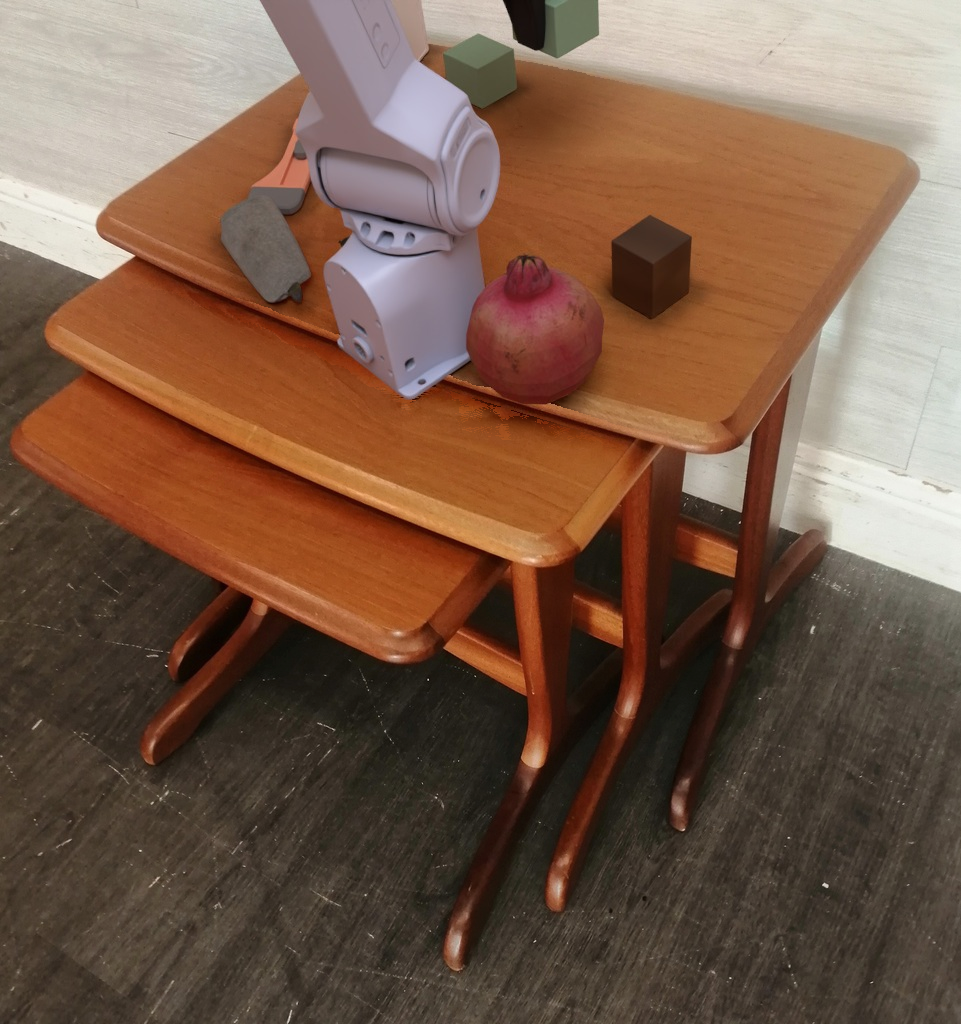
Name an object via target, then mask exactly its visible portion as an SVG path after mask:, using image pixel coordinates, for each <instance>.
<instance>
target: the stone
mask: <svg viewBox="0 0 961 1024" xmlns="http://www.w3.org/2000/svg"><path fill="white" fill-rule="evenodd" d="M219 224H220V227H221V228H220V229H221V233H220V235H221V236H220V242H221V243H222V245H223V247H224V248H225V250H226V251H227V253H228V254H229V255H230V257H231V258H232V260H233V261H234V263H235V264H236V265H237V267H238V268H239V270H240V271H241V272H242V274H243V275H244V277H245V278H246V279H247V281H249V283H250V284H251V285H252V286H253V287H254V289H255V290H256V291H257V293H258V294H259V295H260V296H261V297H262V298H263V299H264V300H265V301H266V302H268V303H270V304H271V303H272V304H275V303H280V302H282V301H283V300H286V299H287V298H288V297H290V296H289V295H288V294H289V293H288V292H287V291H288V289H289V288H290V287H291V285H292V284H294V283H295V282H298V283H299V285H300V286H301V285H302V284H303V283H305V282H306V281H307V280H308V279H310V277H311V276H312V274H311V269H310V267H309V264H308V262H307V259H306V257H305V254H304V252H303V251H302V249H301V246H300V244H299V242H298V240H297V239H296V236H295V235H294V233H293V231H292V229H291V228H290V225H289V223H288V222H287V220H286V218H285V216H284V214H282V213H281V211H280V210H279V208H278V206H277V204H276V203H275V201H274V200H273V199H271V198H270V197H268V196H255V197H251V198H249V199H247V198H246V199H243V200H242V201H240V202H237V203H236V204H234V205H232V206H231V207H229V208H228V209H227V210H226V211H225V212H223V213H222V215H221V217H220V219H219Z"/></svg>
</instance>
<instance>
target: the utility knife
mask: <svg viewBox="0 0 961 1024" xmlns="http://www.w3.org/2000/svg"><path fill="white" fill-rule="evenodd" d="M298 118H299V117H297V118H296V119H295V121H294V124H293V126H292V128H291V132H292V135H291V137H290V140H289V142H288V144H287V147H286V149H285V152H284V154H283V157H282V158H281V159H280V161H279V163H278V164H277V165H276V166H275V167H274V168H273V170H271V171H270V172H269V173H267V174H266V176H264V177H263V178H261V179H260V180H258V181H256V182H255V183H254V184H252V185H251V187H250V191H249V193H248V195H247V197H246V199H249V198H251V197H255V196H268V197H270V198H271V199H273V200H274V201H275V203H276V204H277V206H278V208H279V210H280V211H281V213H282V215H286V216H287V215H293V214H295V213H298V211H299V210H300V209H301V207H302V206H303V204H304V203H303V202H304V200H305V196H306V194H307V192H308V189H309V186H310V184H311V182H312V181H311V177H310V172H309V166H308V159H307V156H306V153H305V150H304V148H303V146H302V144H301V142H300V141H299V139H298V137H297V136H296V134H295V129H296V125H297V121H298Z"/></svg>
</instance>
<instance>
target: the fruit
mask: <svg viewBox="0 0 961 1024" xmlns="http://www.w3.org/2000/svg"><path fill="white" fill-rule="evenodd" d="M505 269H506V270H505V271H506V273H504V274H502V275H500V276H499V277H497V278H495V279H494V280H492V281H490V282H489V283H487V284H486V285H485V288H484V290H483V291H482V292H481V293H480V295H479V296H478V297H477V299H476V301H475V303H474V305H473V307H472V312H471V316H470V320H469V325H468V329H467V334H466V350H467V352H468V354H469V357H470V359H471V360H470V361H471V365H472V366H473V368H474V370H475V372H476V374H477V375H478V377H479V379H480V380H482V381H483V382H484V383H485V384H486V385H487V386H489V388H491V389H492V390H493V391H495V393H497V394H498V395H499V396H500V397H502V398H503V399H506V400H509V401H512V402H515V403H519V404H521V405H548V404H550V403H554V402H555V401H557V400H560V399H563V398H564V397H567V396H568V395H571V394H572V393H574V391H576V390H577V389H578V388H579V387H580V386H581V385H582V384H583V383H584V382H586V381H587V379H588V377H589V376H590V374H591V373H592V370H593V369H594V368H595V365H596V363H597V362H598V359H599V358H600V356H601V354H602V348H603V347H602V346H603V333H604V325H605V318H604V314H603V310H602V307H601V304H600V303H599V302H598V300H597V299H596V297H595V296H594V294H593V293H592V292H591V291H590V290H589V289H588V288H587V287H586V286H585V285H584V283H582V282H581V281H580V280H579V279H578V278H577V277H576V276H574V275H572V274H570V273H568V272H565V271H564V270H561V269H558V268H557V267H553V266H548V265H547V264H546V262H545V260H544V259H543V258H542V257H541V256H539V255H536V254H535V255H534V254H530V253H529V254H526V253H523V254H519V255H517V256H516V257H514V259H512V260H510V261H509V262H508V264H507V266H506V268H505Z"/></svg>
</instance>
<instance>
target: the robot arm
mask: <svg viewBox="0 0 961 1024" xmlns="http://www.w3.org/2000/svg"><path fill="white" fill-rule="evenodd" d="M259 2H260V4H261V6H262V8H263V9H264V11H265V13H266V14H267V17H268V18H269V19H270V22H271V23H272V25H273V27H274V28H275V30H276V32H277V34H278V36H279V38H280V39H281V42H282V43H283V44H284V47H285V49H286V50H287V52H288V53H289V55H290V57H291V59H292V61H293V62H294V64H295V66H296V68H297V69H298V72H299V73H300V75H301V76H302V78H303V80H304V82H305V84H306V86H307V87H308V89H309V92H308V93H307V94H306V97H305V98H304V102H303V104H302V105H301V108H300V110H299V115H298V117H297V118H298V121H297V125H296V129H295V134H296V136H297V137H298V139H299V141H300V142H301V144H302V146H303V148H304V150H305V153H306V156H307V159H308V166H309V172H310V177H311V181H310V182H311V184H312V187H313V190H314V192H315V194H316V196H317V197H318V198H319V200H320V201H321V202H322V203H323V204H324V205H326V206H327V207H330V208H333V209H338V210H339V211H340V215H341V219H342V222H343V227H345V228H347V229H349V230H351V231H352V232H351V233H350V237H349V236H348V237H349V239H348V240H347V242H346V243H345V245H344V246H343V247H340V248H339V249H338V250H337V252H336V253H335V254H333V256H331V257H330V258H329V259H327V261H326V262H325V263H324V265H323V269H322V271H323V272H322V275H323V281H324V284H325V289H326V292H327V296H328V299H329V302H330V305H331V308H332V309H331V310H332V313H333V315H334V318H335V322H336V326H337V329H338V333H339V338H338V339H337V341H336V342H337V346H338V347H339V349H340V350H342V351H343V352H345V353H346V354H347V355H348V356H350V357H351V358H353V360H355V361H356V362H357V363H359V364H360V365H361V366H362V367H364V368H365V369H366V370H368V371H369V372H370V373H372V375H374V376H375V377H376V378H378V379H379V380H380V381H382V382H383V383H384V384H385V385H387V386H388V387H389V388H391V390H392V391H394V392H395V393H397V394H398V395H399V396H400V397H402V398H403V399H405V400H409V401H411V400H414V399H416V398H418V397H419V396H421V395H422V394H424V393H425V392H426V391H428V390H429V389H431V388H432V387H434V386H435V385H437V384H438V383H440V382H441V381H443V380H444V379H445V378H447V377H448V376H450V375H451V374H452V373H454V372H456V371H457V370H459V369H460V368H461V367H463V366H464V365H466V364H467V363H468V362H470V361H471V359H470V357H469V354H468V352H467V350H466V334H467V329H468V325H469V320H470V316H471V312H472V307H473V305H474V303H475V301H476V299H477V297H478V296H479V295H480V293H481V292H482V291H483V290H484V288H485V287H486V285H485V278H484V271H483V264H482V263H483V262H482V255H481V249H480V242H479V236H478V235H479V233H478V227H479V226H480V225H481V224H482V223H483V222H484V220H485V219H486V217H487V216H488V214H489V213H490V211H491V209H492V208H493V204H494V202H495V199H496V196H497V192H498V189H499V183H500V176H501V155H500V154H501V153H500V149H499V144H498V141H497V139H496V137H495V134H494V131H493V129H492V127H491V126H490V124H489V123H488V122H487V121H486V120H484V119H482V118H480V117H479V116H478V115H477V114H476V112H475V110H474V108H473V106H472V103H470V101H469V98H468V96H467V95H466V94H465V93H464V92H463V91H462V90H460V89H459V88H457V87H456V86H454V85H453V84H452V83H450V82H449V81H447V79H445V78H444V77H442V75H440V74H438V73H437V72H435V71H434V70H432V69H431V68H429V67H427V66H426V65H425V64H423V63H422V62H421V61H420V62H419V61H418V60H417V59H416V58H415V57H414V54H413V52H412V49H411V47H410V45H409V42H408V40H407V37H406V35H405V33H404V30H403V28H402V25H401V23H400V21H399V18H398V16H397V13H396V11H395V9H394V6H393V4H392V1H391V0H259ZM502 2H503V4H504V7H505V9H506V12H507V15H508V17H509V20H510V23H511V27H512V26H513V29H514V32H515V35H516V39H517V44H519V45H521V46H523V47H526V48H528V49H530V50H532V51H535V52H538V51H539V50H540V49H542V48H543V47H544V41H545V31H546V16H545V0H502Z"/></svg>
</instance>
